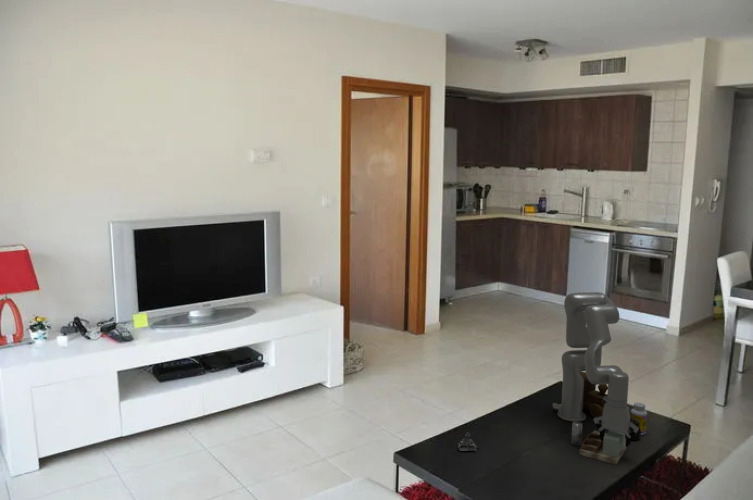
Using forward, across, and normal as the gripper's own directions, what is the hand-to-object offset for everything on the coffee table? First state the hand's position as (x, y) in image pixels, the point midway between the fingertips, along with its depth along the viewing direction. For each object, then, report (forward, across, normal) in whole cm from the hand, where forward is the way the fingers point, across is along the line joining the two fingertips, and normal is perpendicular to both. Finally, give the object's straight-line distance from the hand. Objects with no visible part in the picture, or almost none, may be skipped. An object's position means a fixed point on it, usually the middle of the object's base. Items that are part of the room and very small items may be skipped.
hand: (614, 442), depth 248 cm
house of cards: (+6, -52, -27) cm, 59 cm away
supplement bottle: (+5, +3, +28) cm, 28 cm away
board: (+5, -4, +3) cm, 8 cm away
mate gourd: (+5, +2, +21) cm, 22 cm away
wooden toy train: (+5, -20, +38) cm, 43 cm away
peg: (+5, -16, +1) cm, 16 cm away
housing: (+3, 0, 0) cm, 3 cm away
